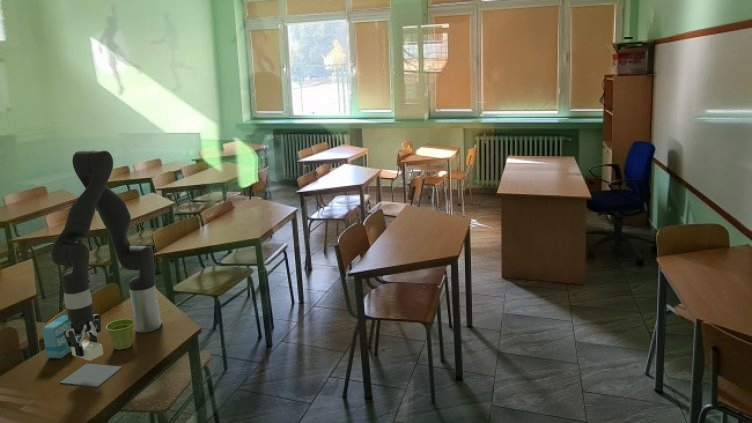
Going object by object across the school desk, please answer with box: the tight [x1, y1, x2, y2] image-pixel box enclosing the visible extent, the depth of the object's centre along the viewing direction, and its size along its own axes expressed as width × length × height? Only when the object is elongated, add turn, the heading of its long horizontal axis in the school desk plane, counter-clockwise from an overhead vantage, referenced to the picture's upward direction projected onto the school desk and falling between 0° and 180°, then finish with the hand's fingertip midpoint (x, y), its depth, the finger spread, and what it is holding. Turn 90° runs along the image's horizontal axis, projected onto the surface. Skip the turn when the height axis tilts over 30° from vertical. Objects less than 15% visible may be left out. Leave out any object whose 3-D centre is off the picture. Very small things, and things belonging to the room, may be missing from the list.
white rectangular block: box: [71, 338, 104, 361], centre depth 181 cm, size 9×5×4 cm, turn 62°
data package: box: [41, 314, 80, 359], centre depth 199 cm, size 12×4×12 cm, turn 170°
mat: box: [59, 363, 123, 388], centre depth 183 cm, size 12×14×1 cm
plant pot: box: [105, 318, 135, 350], centre depth 201 cm, size 9×9×9 cm
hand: (87, 351), depth 181 cm, fingers closed on white rectangular block, 5 cm apart
